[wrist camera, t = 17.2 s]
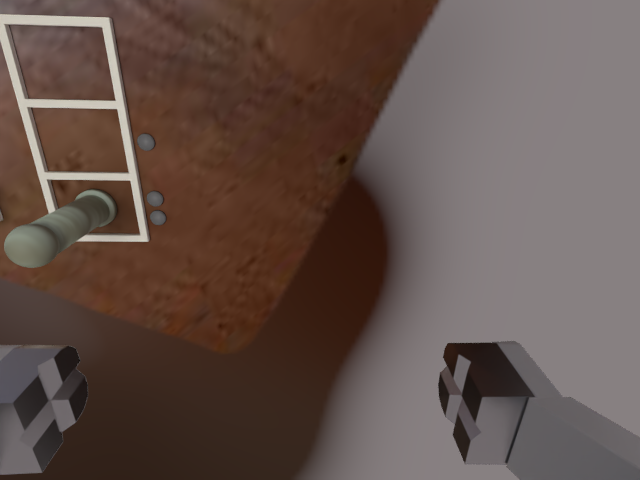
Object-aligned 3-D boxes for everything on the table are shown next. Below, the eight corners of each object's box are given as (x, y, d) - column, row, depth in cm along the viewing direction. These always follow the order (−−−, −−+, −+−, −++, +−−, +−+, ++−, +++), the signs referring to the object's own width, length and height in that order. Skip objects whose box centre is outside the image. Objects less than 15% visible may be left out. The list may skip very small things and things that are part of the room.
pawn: (75, 188, 44) (-18, 231, 31) (113, 189, 44) (35, 231, 31) (83, 223, 45) (-1, 277, 33) (120, 224, 46) (49, 277, 33)
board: (-3, 15, 37) (-7, 14, 36) (136, 19, 37) (133, 18, 37) (59, 239, 46) (56, 241, 46) (169, 239, 47) (167, 241, 46)
